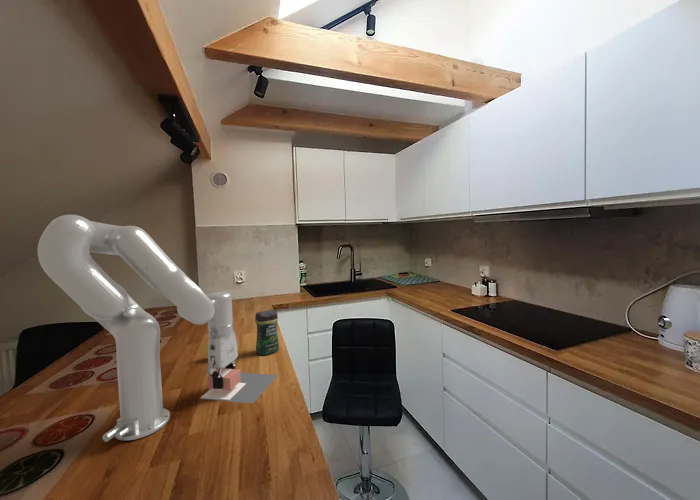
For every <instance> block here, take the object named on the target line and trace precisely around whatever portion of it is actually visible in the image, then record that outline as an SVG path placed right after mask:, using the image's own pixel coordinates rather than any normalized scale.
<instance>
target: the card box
mask: <svg viewBox="0 0 700 500" xmlns="http://www.w3.org/2000/svg"><path fill="white" fill-rule="evenodd" d="M216 372H217V373H218V369H216ZM240 373H241V369H237V368H235V369H225V368H223V369H222V373H221V376H222V377H223V388H222V389H216V390H232V389H233V388H234V387H235V386H236V385H237V384H238V383H239V382H240V381H241V377H240ZM206 379H207V389H208V390H210V389H214V388H213V377H211V376H210V375H209V374H208V376H207V378H206Z"/></svg>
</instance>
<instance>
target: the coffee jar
mask: <svg viewBox="0 0 700 500" xmlns="http://www.w3.org/2000/svg"><path fill="white" fill-rule="evenodd" d="M254 320H255V321H254V322H255V324H256V342H255V343H256V344H255V352H256V354H257V355H259V356H267V355H271V354H275V353H277V352H278V351H279V350H280V343H279V338H278V328H277V325H278V321H279V316H278V312H277V310H276V309H275V310H274V309H267V310H262V311H259V312H256V313H255V318H254Z"/></svg>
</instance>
